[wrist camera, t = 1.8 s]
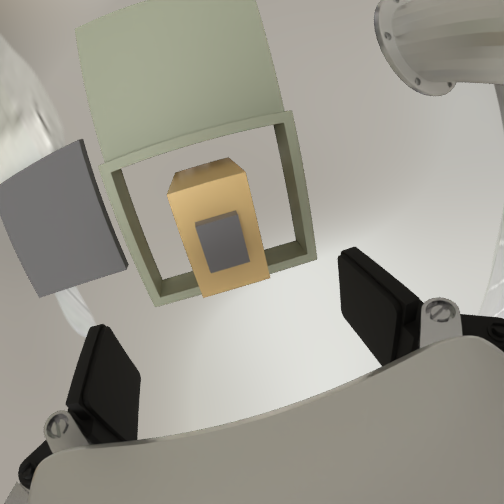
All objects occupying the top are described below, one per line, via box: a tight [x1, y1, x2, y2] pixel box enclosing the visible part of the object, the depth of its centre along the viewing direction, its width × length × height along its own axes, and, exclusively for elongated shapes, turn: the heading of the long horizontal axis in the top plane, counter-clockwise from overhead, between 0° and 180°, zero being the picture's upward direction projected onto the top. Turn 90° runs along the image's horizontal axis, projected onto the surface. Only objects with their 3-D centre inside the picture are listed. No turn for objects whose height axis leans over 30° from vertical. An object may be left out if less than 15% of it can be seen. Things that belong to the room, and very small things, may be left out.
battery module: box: [167, 158, 270, 298], centre depth 20 cm, size 4×7×9 cm, turn 13°
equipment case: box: [75, 0, 317, 307], centre depth 20 cm, size 15×26×3 cm, turn 13°
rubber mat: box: [0, 139, 128, 297], centre depth 21 cm, size 11×12×1 cm
